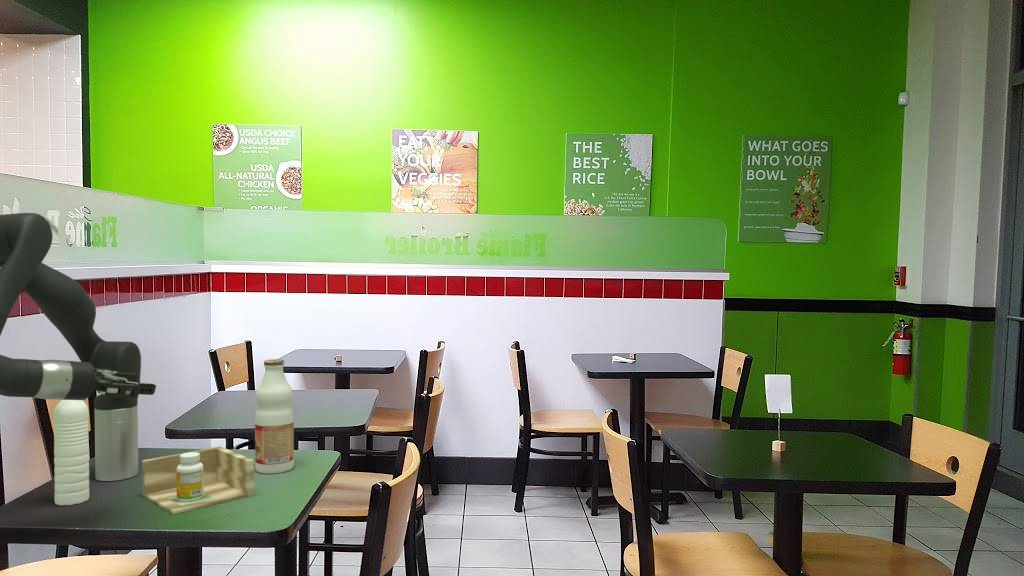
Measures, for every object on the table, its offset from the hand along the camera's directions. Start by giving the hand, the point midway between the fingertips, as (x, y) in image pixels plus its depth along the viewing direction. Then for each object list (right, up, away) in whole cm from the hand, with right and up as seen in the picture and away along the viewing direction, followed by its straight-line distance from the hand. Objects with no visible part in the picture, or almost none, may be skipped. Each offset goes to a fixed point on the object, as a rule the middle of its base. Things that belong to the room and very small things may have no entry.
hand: (144, 384), depth 148 cm
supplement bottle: (+7, -26, +6) cm, 28 cm away
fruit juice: (+17, -26, +31) cm, 44 cm away
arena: (+7, -26, +10) cm, 29 cm away
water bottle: (-19, -27, +4) cm, 33 cm away
